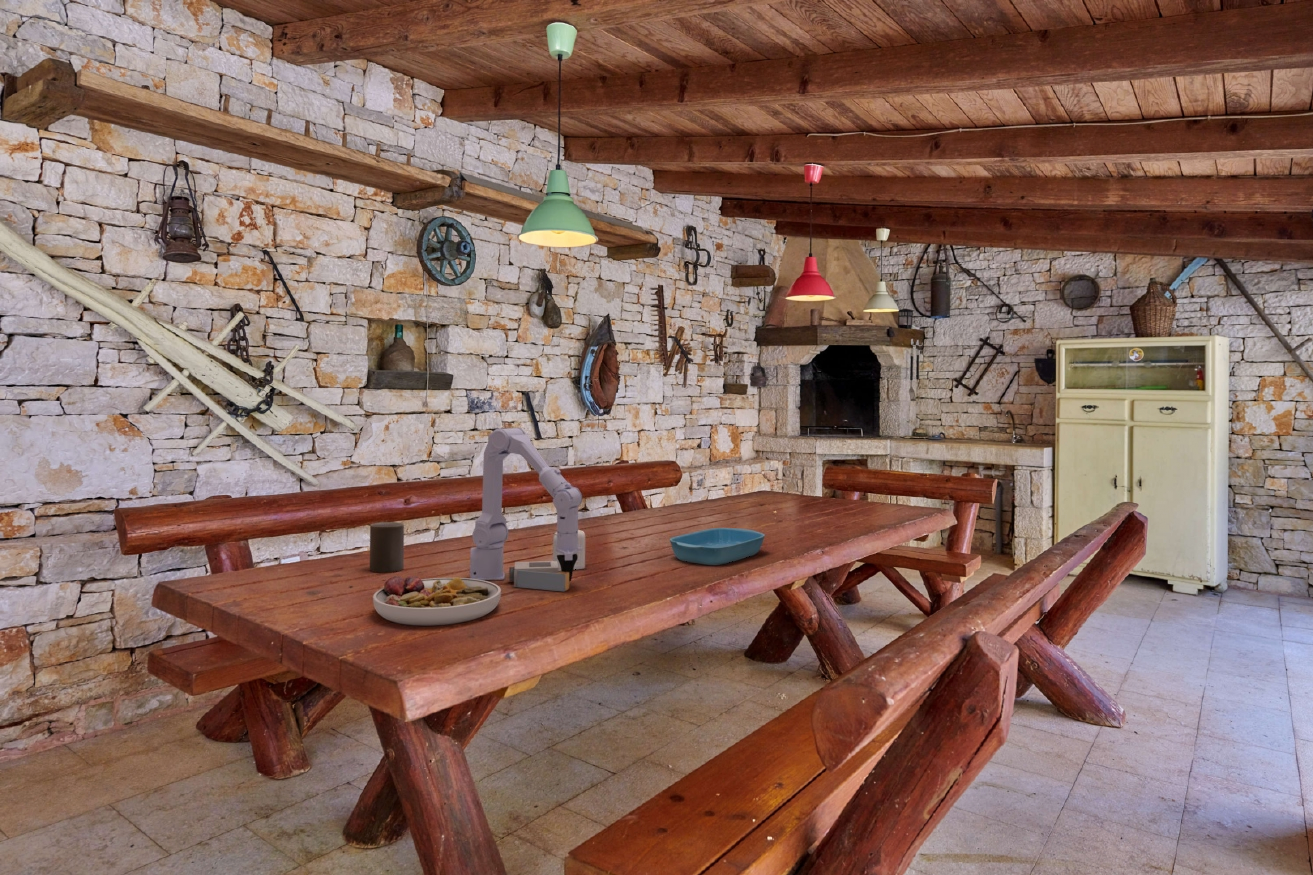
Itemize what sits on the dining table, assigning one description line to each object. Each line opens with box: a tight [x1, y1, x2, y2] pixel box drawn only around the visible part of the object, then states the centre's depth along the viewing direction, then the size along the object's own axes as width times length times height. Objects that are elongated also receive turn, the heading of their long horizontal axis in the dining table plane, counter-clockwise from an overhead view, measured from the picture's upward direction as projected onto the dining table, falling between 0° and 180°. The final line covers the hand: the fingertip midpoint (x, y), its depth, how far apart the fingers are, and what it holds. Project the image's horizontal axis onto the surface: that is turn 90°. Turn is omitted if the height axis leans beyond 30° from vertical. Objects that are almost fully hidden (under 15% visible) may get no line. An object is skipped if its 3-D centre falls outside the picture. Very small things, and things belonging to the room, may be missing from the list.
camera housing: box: [508, 560, 559, 582], centre depth 223 cm, size 14×9×5 cm, turn 99°
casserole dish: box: [669, 527, 766, 566], centre depth 262 cm, size 37×22×7 cm, turn 141°
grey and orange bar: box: [513, 570, 570, 592], centre depth 216 cm, size 15×4×5 cm, turn 72°
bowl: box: [372, 575, 502, 627], centre depth 193 cm, size 30×30×8 cm
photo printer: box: [552, 529, 586, 572], centre depth 240 cm, size 10×4×12 cm, turn 123°
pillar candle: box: [369, 519, 405, 574], centre depth 237 cm, size 10×10×15 cm
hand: (567, 580), depth 217 cm, fingers closed
